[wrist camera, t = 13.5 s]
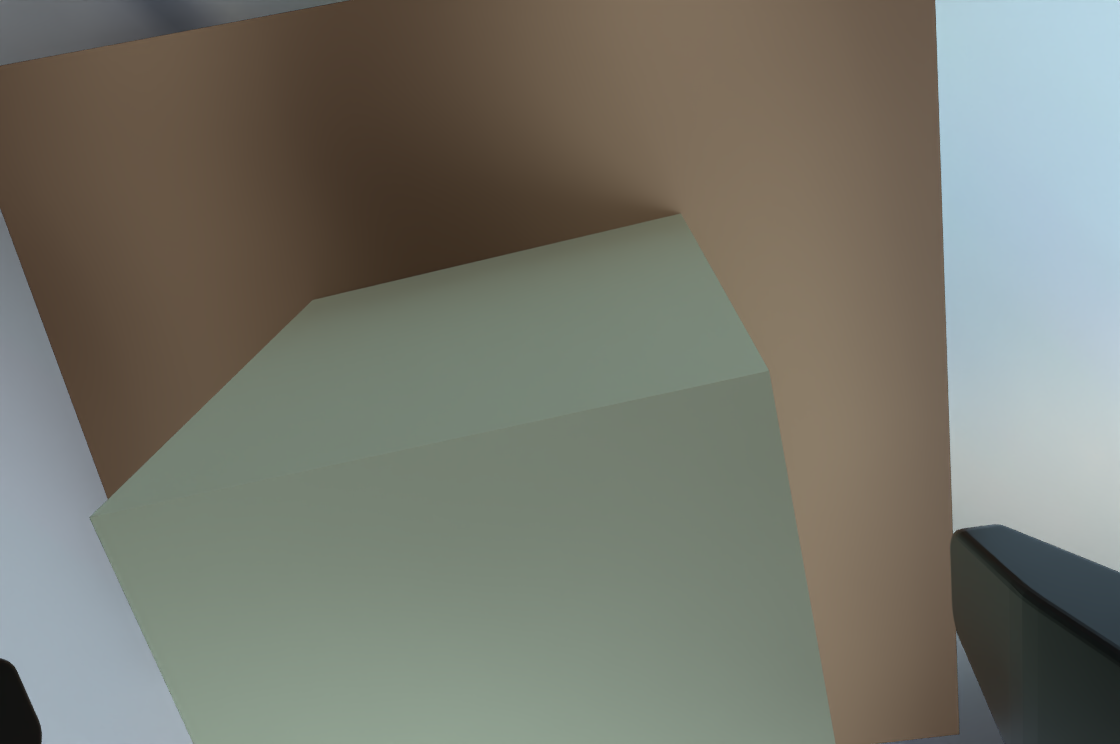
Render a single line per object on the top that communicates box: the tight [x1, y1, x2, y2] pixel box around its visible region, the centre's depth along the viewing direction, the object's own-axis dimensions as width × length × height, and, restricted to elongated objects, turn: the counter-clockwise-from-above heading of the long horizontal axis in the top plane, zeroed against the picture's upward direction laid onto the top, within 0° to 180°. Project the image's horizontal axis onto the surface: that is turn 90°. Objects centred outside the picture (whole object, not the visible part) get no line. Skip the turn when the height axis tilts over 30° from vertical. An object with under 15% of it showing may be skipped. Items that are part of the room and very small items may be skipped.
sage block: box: [90, 214, 835, 744], centre depth 10 cm, size 5×5×6 cm
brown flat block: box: [0, 0, 959, 744], centre depth 15 cm, size 12×12×4 cm
